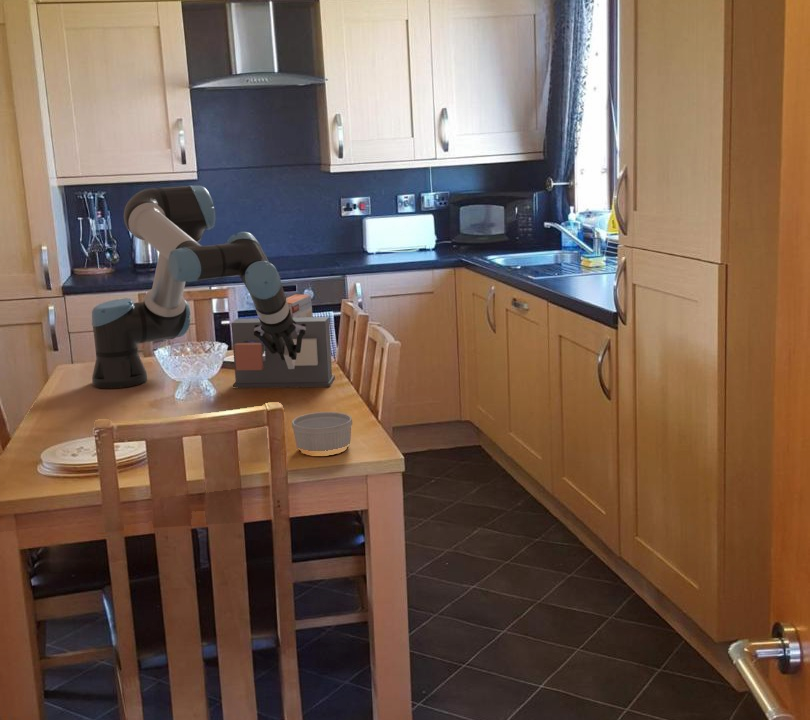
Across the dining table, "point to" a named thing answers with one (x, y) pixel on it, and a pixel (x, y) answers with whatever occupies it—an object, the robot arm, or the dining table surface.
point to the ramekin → (322, 431)
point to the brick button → (249, 355)
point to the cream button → (307, 352)
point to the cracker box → (300, 305)
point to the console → (276, 368)
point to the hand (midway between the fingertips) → (291, 364)
